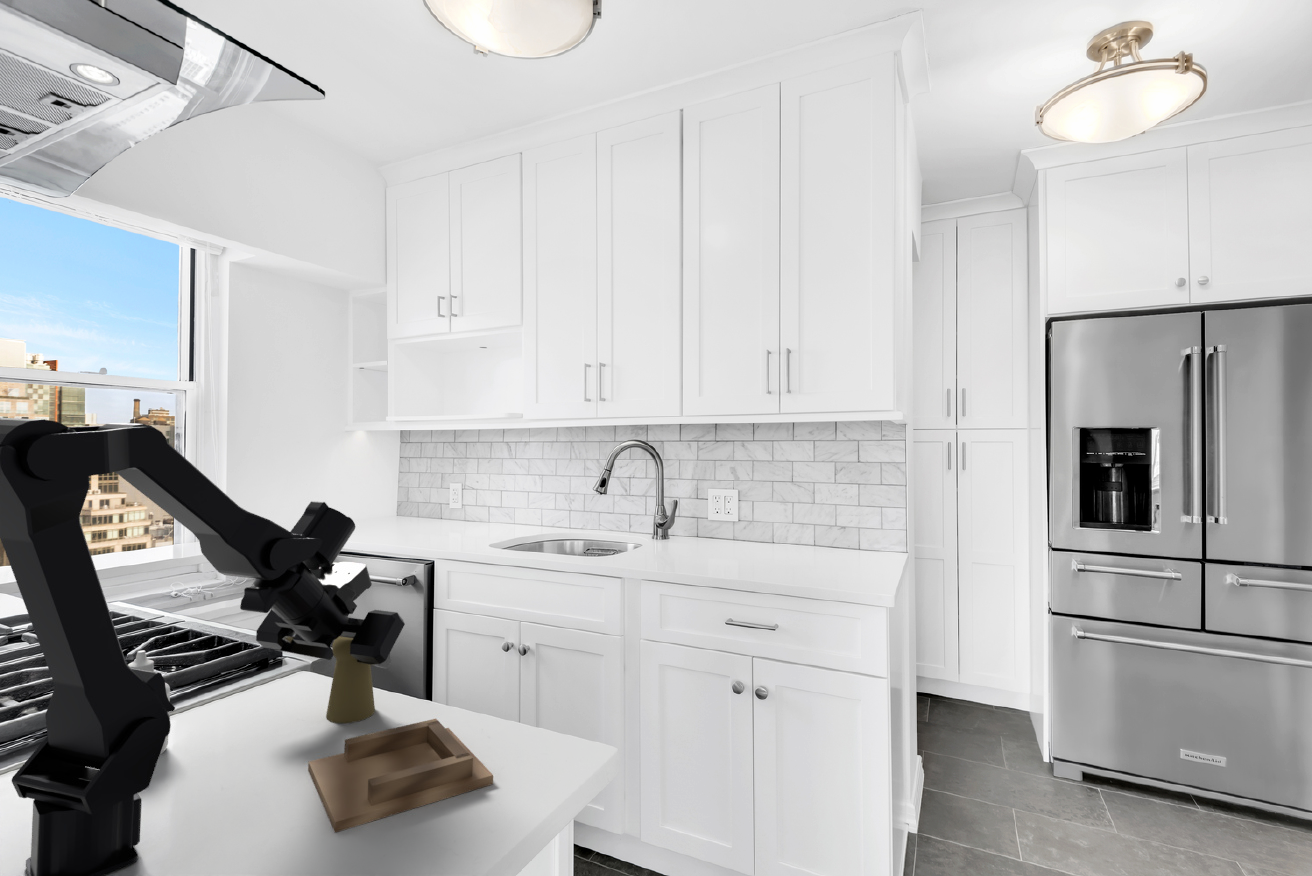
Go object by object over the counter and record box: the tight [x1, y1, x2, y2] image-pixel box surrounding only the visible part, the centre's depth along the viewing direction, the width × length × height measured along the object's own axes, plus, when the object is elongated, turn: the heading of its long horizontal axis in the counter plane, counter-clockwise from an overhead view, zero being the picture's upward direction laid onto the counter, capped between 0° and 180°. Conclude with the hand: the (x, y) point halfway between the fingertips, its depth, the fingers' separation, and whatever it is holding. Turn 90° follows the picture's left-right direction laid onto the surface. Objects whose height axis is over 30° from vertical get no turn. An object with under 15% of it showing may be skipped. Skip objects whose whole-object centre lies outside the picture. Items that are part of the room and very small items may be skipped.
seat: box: [307, 718, 494, 833], centre depth 73 cm, size 16×14×3 cm
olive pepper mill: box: [325, 636, 376, 724], centre depth 88 cm, size 6×6×11 cm
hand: (359, 660), depth 90 cm, fingers open, 9 cm apart
